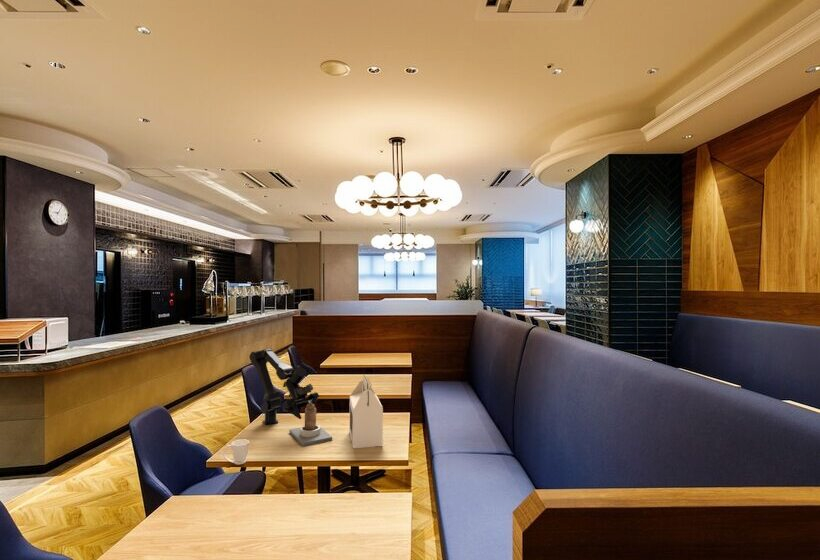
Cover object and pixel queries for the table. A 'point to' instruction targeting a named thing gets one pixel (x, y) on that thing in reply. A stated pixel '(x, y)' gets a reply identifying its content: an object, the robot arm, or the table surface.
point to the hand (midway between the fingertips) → (308, 416)
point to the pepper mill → (310, 417)
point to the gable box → (365, 416)
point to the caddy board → (311, 439)
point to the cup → (238, 451)
